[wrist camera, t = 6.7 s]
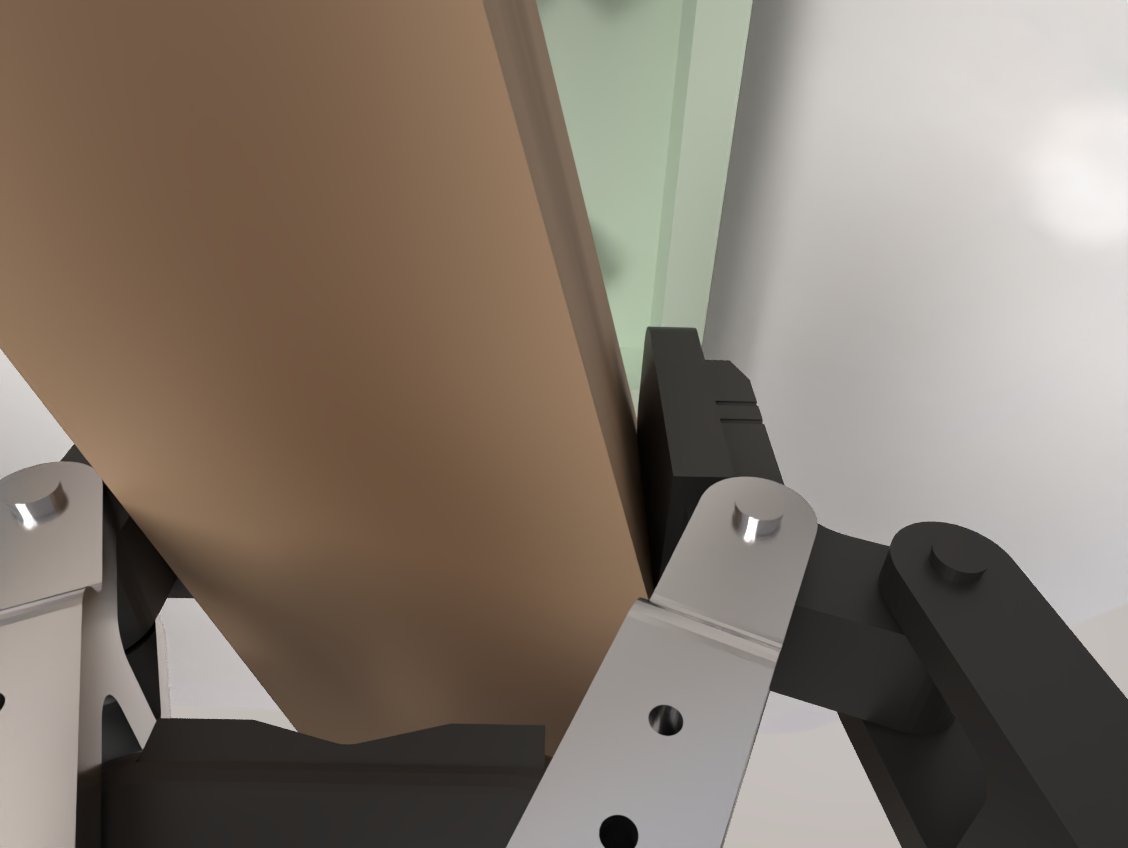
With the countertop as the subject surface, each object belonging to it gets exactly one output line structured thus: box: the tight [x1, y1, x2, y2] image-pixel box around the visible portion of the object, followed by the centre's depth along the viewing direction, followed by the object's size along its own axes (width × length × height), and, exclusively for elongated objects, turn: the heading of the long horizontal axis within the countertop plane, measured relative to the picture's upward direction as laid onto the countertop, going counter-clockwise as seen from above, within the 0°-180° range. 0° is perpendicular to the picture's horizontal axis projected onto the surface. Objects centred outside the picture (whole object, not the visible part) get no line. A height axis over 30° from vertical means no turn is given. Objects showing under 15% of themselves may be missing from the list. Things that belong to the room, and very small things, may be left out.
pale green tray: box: [536, 0, 753, 417], centre depth 25 cm, size 13×22×4 cm, turn 179°
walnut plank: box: [0, 0, 655, 757], centre depth 11 cm, size 5×15×5 cm, turn 14°
